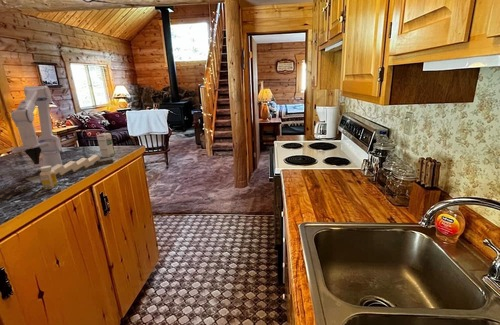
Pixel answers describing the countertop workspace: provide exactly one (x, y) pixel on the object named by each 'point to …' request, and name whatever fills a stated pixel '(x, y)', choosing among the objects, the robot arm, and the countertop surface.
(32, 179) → the mat
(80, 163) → the domino
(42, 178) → the supplement bottle
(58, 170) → the domino
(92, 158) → the domino
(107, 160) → the domino
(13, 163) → the countertop surface
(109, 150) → the syrup box
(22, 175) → the countertop surface
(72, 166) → the domino
